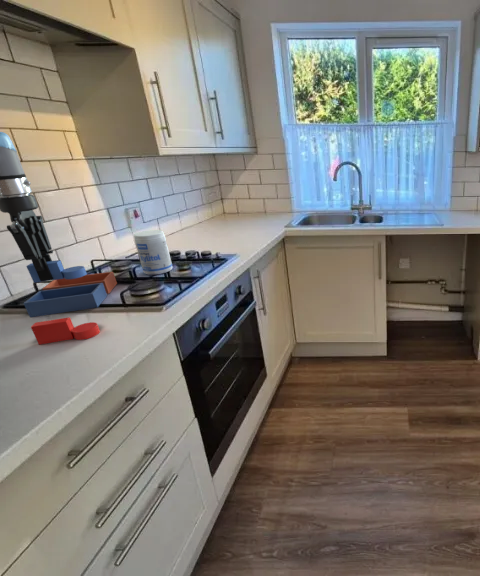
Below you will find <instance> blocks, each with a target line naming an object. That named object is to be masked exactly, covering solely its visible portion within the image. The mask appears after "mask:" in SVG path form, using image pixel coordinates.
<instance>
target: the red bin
mask: <svg viewBox="0 0 480 576" xmlns="http://www.w3.org/2000/svg"><path fill="white" fill-rule="evenodd" d="M98 283H103V285H104V288H105V291H106V294H107V295H109V294H111V292H112V291H113V289H114V288H115V287H116V286H117V285H118V282H117V279H116V276H115V273H114V271H107V272H106V271H105V272H97V273H90V274H86V275H85V276H83V277H80V278H75V279H65V278H64V279H58V280H51V281H50V282H49V283H47V284H46V285H45V286H43V288H41V289H42V290H41V291H44V290H51V289H59V288H67V287H74V286H82V285H90V284H98Z"/></svg>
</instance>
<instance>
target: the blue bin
mask: <svg viewBox="0 0 480 576" xmlns="http://www.w3.org/2000/svg"><path fill="white" fill-rule="evenodd" d="M107 297H108V294H106V291H105V288H104V285H103V283H98V284H90V285H82V286H74V287H67V288H59V289H51V290H44V291H43V290H39V291H37V292H36V293H34V295H32V296H30V297H29V298H28V299H27V300H25V301H24V302H23V305H24V308H25V310H26V312H27V314H28V316H29V318H35V317H42V316H49V315H55V314H57V315H58V314H62V313H63V314H64V313H69V312H75V311H76V312H77V311H83V310H91V309H97V308H99V307H100V305H101V304H102V303H103V302H104V300H105V299H106V298H107Z"/></svg>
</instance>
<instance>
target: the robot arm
mask: <svg viewBox="0 0 480 576" xmlns="http://www.w3.org/2000/svg"><path fill="white" fill-rule="evenodd" d="M30 185H31V181H29V180H28V178H27V176H26V174H25V171H24V168H23V166H22V162H21V160H20V158H19V155H18V151H17V149H16V147H15V145H14V143H13V141H12V138H10V136H9V134H7V133H6V132H4V131H0V212H1V213H3V214H4V213H5V214H6V213H7V214H9V219H10V221H11V224H7V225H6V229H7V231H8V232H9V234H11V236H12V238H13V240H14V241H15V243H16V245H17V247H18V249H19V251H20V252H21V255H22V256H23V258H24V260H26V261H31V262H32V263H33V265H34V267H35V269H36V272H37V274H38V276H39V279H40V281H42V282H48V281H47V280H50V281H53V277H52V274H51V272H50V270H49V267H48V265H47V262H48V261H53V259H52V257H51V254H53V253H54V250H53V247H52V244H51V242H50V239H49V236H48V233H47V229H46V227H45V225H44V217H43V216H42V215H36V213H35V211H34V210H37V209H38V208H39V205H38V202H37V199H36V197H35V195H33V194H31V193H32V192H33V190H32V188H31V186H30Z"/></svg>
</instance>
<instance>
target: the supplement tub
mask: <svg viewBox="0 0 480 576" xmlns="http://www.w3.org/2000/svg"><path fill="white" fill-rule="evenodd" d="M133 238H134V244H135V247H136V251H137V254H138V257H139V262H140V264H141V269H142V272H143V273H144V274H145V275H149V276H156V275H161V274H166V273H168V272H170V271H171V270H172V269H173V263H172V258H171V255H170V250H169V247H168V243H167V238H166V235H165V232H164V231H163V230H161V229H159V230H158V229H151V230H150V229H149V230H143V231H138V232H136V233H135V234H133Z"/></svg>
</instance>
